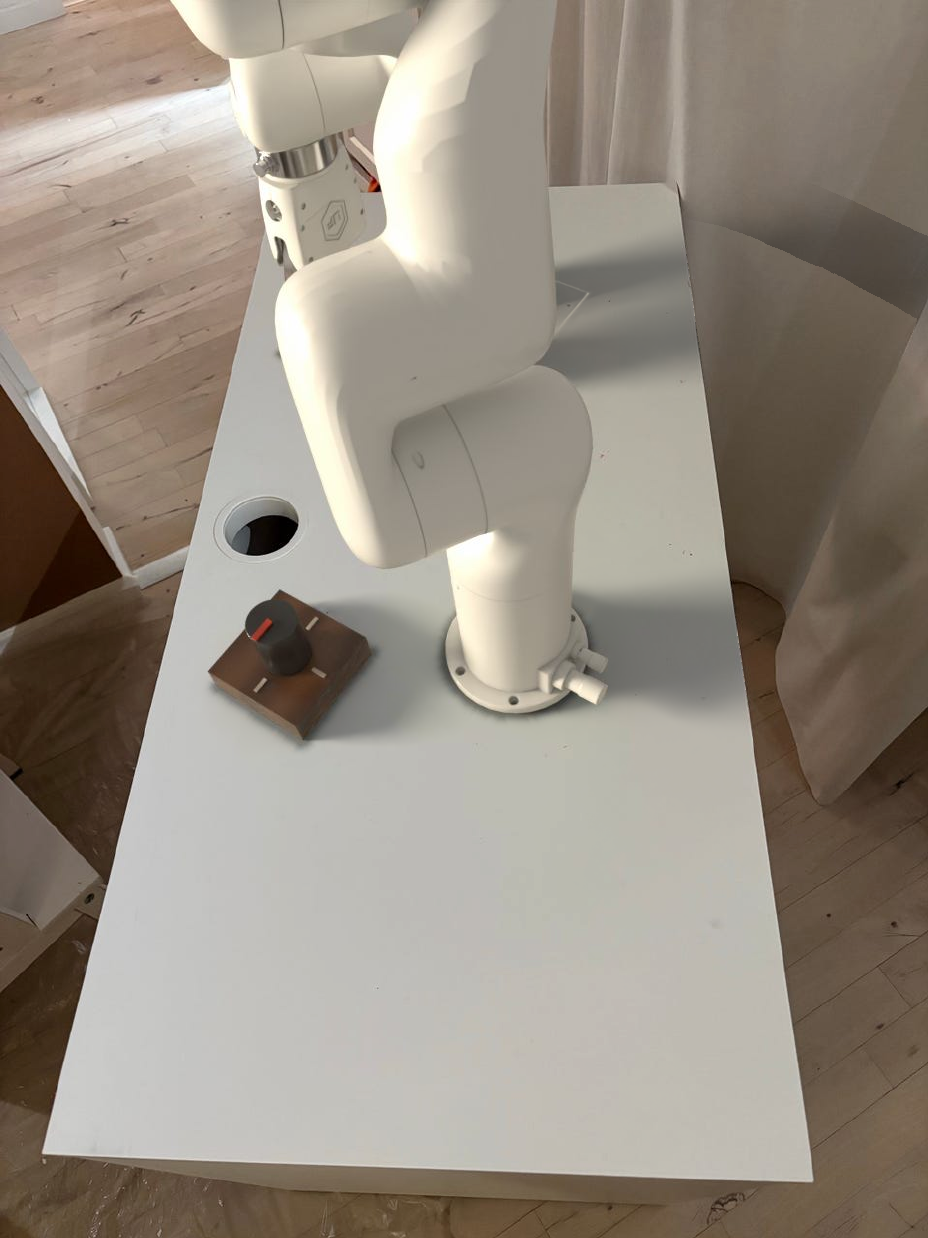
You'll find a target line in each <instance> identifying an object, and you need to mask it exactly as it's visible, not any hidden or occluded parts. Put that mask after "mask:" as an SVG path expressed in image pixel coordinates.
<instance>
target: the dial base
mask: <svg viewBox="0 0 928 1238" xmlns="http://www.w3.org/2000/svg"><path fill="white" fill-rule="evenodd" d="M271 599H280V600H284V601H286V602H288V603H290V604H291V605H292V606H293V607H294V608H295V610H296V612H297V614H298V617H299V619H300V621H301V623H302V626H303V628H304V630H305V633H306V635H307V637H308V640H309V642H310V644H311V648H312V654H311V658H310V660H309V662H308V663H307V665H306V666H305V667H304V668H303V669H302V670H300V671H299V672H297V673H295V674H292V675H288V676H279V675H275V674H272V673H271V672H269V671H268V670H267V669H266V668H265V666H264V665H263V663H262V661H261V659H260V657H259V655H258V653H257V652H256V650H255V648H254V646H253V644H252V642H251V640H250V639H249V637H248V635H247V633H246V630H245V628H244V629H243V630H242V631H241V633H240V634H239V635H238V636H237V637H236V638H235V639H234V640H233V641H232V643H231V644H230V645H229V646H228V647H227V649H226V650H225V651H224V652H223V653H222V654H221V655H220V656H219V658H217V660H216V661H215V662H214V663H213V664H212V666H210V668H209V669H207V673H208V675H209V676H210V678H211V679H212V681H213V682H214V684H215V685H216V687H217V688H218V689H220V690H221V691H223V692H225V693H226V694H228V695H230V696H231V697H232V698H234V699H236V700H237V701H239V702H240V703H242V704H243V705H245V706H247V707H249V708H250V709H252V710H254V711H255V712H257V713H258V714H260V715H262V716H263V717H264V718H266V719H268V720H269V721H271V722H273V723H274V724H276V725H278V726H279V727H281V728H283V729H284V730H286V731H287V732H288V733H290V734H292V735H293V736H295V737H297V738H298V739H300V741H304V740H305V739H306V738H307V737H308V735H309V734H311V732H312V731H313V729H314V728H315V727H316V725H317V724H318V723H319V721H321V720H322V718H323V717H324V715H325V714H326V713H327V711H328V710H329V709H330V708H331V707H332V705H333V704H334V703H335V701H336V700H337V699H338V697H339V696H340V695H341V694H342V693H343V692H344V690H345V689H346V688H347V686H348V685H349V684H350V682H351V681H352V680H353V679H354V678H355V676H356V675H357V674H358V673H359V671H360V670H361V669H362V667H363V666H364V665H365V664H366V662H367V661H368V660H369V659H370V657H371V656H372V650H371V648H370V644H369V642H368V639H367V636H364V635H362V634H361V633H359V632H357V631H356V630H354V629H352V628H350V627H348V626H347V625H345V624H343V623H341V622H340V621H337V620H336V619H334V618H332V617H330V616H329V615H327V614H325V613H323V612H321V611H319V610H318V609H316V608H315V607H313V606H311V605H310V604H307V603H305V602H304V601H302V600H300V599H298V598H297V597H295V596H293V595H291V594H290V593H288V592H286V591H284V590H282V589H278V590H277V591H276V592H275V594H274V595H273V596H272V597H271V598H270V599H269V600H271Z"/></svg>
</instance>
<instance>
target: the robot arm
mask: <svg viewBox="0 0 928 1238" xmlns="http://www.w3.org/2000/svg"><path fill="white" fill-rule="evenodd" d="M169 1H170V2H171V4H172V5H173V6H174V7H175V9H176V10H177V12H178V14H179V15H180V17H181V18H182V19H183V21H184V22H185V24H186V25H187V26H188V28H189V30H190V31H191V32H192V33H193V35H194V36H195V37H196V39H198V41H199V42H200V43H201V44H202V45H204V46H205V47H206V48H207V49H208V50H210V51H211V52H212V53H214V54H216V55H218V56H220V57H223V58H227V59H228V63H229V69H230V70H229V71H230V79H231V80H230V81H229V82H228V89H229V90H228V94H229V97H230V104H231V108H232V113H233V115H234V118H235V120H236V122H237V124H238V127H239V131H240V132H241V133H242V135H243V137H244V138H245V139H246V140H247V139H248V140H249V142H250V143H251V144H252V145H253V147H254V148H253V149H254V151H255V154H256V158H257V159H256V162H254V163H253V165H252V168H253V171H254V173H255V174H256V175H257V176H258V188H259V197H260V204H261V211H262V215H263V221H264V226H265V231H266V235H267V238H268V242H269V246H270V250H271V253H272V255H273V258H274V260H275V262H276V264H277V266H279V267H283V275H284V283H283V285H282V286H281V288H280V290H279V291H278V296H277V298H276V302H275V308H274V309H275V310H274V312H275V313H274V325H275V335H276V341H277V346H278V351H279V354H280V358H281V361H282V365H283V369H284V372H285V376H286V379H287V383H288V386H289V389H290V392H291V394H292V395H291V396H292V397H293V401H294V405H295V407H296V409H297V412H298V415H299V419H300V422H301V424H302V427H303V431H304V433H305V437H306V440H307V443H308V446H309V450H310V451H311V454H312V455H311V456H312V458H313V460H314V463H315V467H316V470H317V473H318V476H319V479H320V482H321V484H322V485H321V486H322V488H323V491H324V494H325V498H326V500H327V502H328V505H329V508H330V511H331V513H332V516H333V519H334V522H335V524H336V526H337V528H338V530H339V533H340V535H341V537H342V539H343V540H344V542H345V543H346V545H347V547H348V548H349V549H350V550H351V553H353V555H354V556H355V557H356V558H358V559H359V560H360V561H361V562H362V563H364V564H366V565H368V566H369V567H372V568H374V569H380V570H390V569H397V568H401V567H404V566H407V565H410V564H413V563H416V562H418V561H421V560H423V559H426V558H429V557H432V556H434V555H437V554H439V553H441V552H443V551H446V557H447V563H448V564H447V565H448V570H449V575H450V582H451V589H452V594H453V600H454V607H455V612H456V615H455V617H454V618H453V619H452V621H451V623H450V625H449V628H448V631H447V634H446V639H445V643H444V644H445V645H444V646H445V648H444V649H445V659H446V665H447V668H448V671H449V673H450V677H451V678H452V680H453V682H454V683H455V685H456V686H457V688H458V689H459V690H460V691H461V692H462V693H463V694H464V695H465V696H466V697H468V698H469V700H472V701H473V702H474V703H476V704H477V705H480V706H482V707H484V708H486V709H488V710H491V711H496V712H500V713H503V714H527V713H533V712H536V711H540V710H544V709H546V708H548V707H551V706H552V705H555V704H556V703H558V702H559V701H561V700H562V699H563V698H565V697H566V696H568V695H569V693H570V692H571V691H572V692H573V693H575V694H577V695H578V697H581V698H582V699H584V700H586V701H588V702H590V703H592V704H594V705H596V706H599V705H600V703H601V702H602V701H603V699H604V698H605V696H606V693H607V691H608V688H609V685H608V684H607V683H605V682H603V681H601V680H599V679H597V678H596V677H594V676H592V675H590V674H589V675H588V674H586V673H584V672H585V669H586V666H587V667H588V668H590V669H591V670H593V671H596V672H597V673H600V674H602V673H603V672H604V671H605V669H606V667H607V665H608V663H609V658H608V657H606V656H604V655H602V654H600V653H598V652H597V651H592V650H591V649H589V638H588V635H587V629H586V627H585V625H584V623H583V621H582V619H581V617H580V615H579V614H578V613H577V612H576V610H575V609H574V608H573V606H572V604H573V573H574V572H573V570H574V552H575V551H574V549H575V548H574V547H575V530H576V529H575V526H576V518H577V512H578V508H579V505H580V502H581V499H582V496H583V494H584V492H585V488H586V485H587V483H588V479H589V475H590V471H591V467H592V460H593V449H594V437H593V428H592V422H591V417H590V414H589V411H588V408H587V405H586V403H585V401H584V398H583V397H582V395H581V394H580V392H579V391H578V389H577V388H576V386H575V385H574V384H573V383H572V382H571V381H570V380H569V378H567V377H566V376H565V375H564V374H562V373H561V372H560V371H557V370H555V369H553V368H551V367H548V366H544V365H541V364H540V365H539V364H536V363H538V362H539V361H540V360H541V359H542V358H543V357H544V356H545V355H546V354H547V352H548V351H549V348H550V347H551V345H552V342H553V340H554V339H553V338H554V336H555V332H556V323H557V283H556V269H555V255H554V254H555V253H554V241H553V227H552V216H551V214H552V213H551V205H550V204H551V203H550V202H551V201H550V190H549V178H548V166H547V155H546V147H545V114H544V113H545V104H546V95H547V94H546V93H547V81H548V74H549V67H550V59H551V54H552V53H551V52H552V46H553V39H554V32H555V25H556V17H557V7H558V0H169ZM416 8H418V9H419V10H420V17H419V19H418V21H417V22H416V24H414V19H413V18H414V17H413V15H412V12H411V10H412V9H416ZM373 122H375V125H374V133H373V144H372V145H373V146H372V147H373V148H372V150H373V159H374V164H375V166H376V172H377V175H378V181H379V186H380V190H381V193H382V199H383V202H384V206H385V207H384V208H385V213H386V225H385V227H384V229H383V231H382V232H381V233H380V235H377V237H375V238H373V239H370V240H368V241H365V242H362V243H360V244H356V245H355V246H354V245H353V244H354V243H355V242H356V241H357V240H358V239H359V238H360V237H361V236H362V234H363V233H364V232H365V230H366V227H367V215H366V209H365V204H364V200H363V195H362V191H361V188H360V185H359V180H358V177H357V174H356V171H355V168H354V165H353V163H352V159H351V158H350V154H349V153H348V151H347V148H346V146H345V145H344V142H343V140H342V139H341V138H340V137H339V136H337V135H336V134H338V133H341V132H344V131H347V130H351V129H354V128H356V127H360V126H363V125H366V124H370V123H373ZM352 245H353V246H352Z"/></svg>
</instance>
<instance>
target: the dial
mask: <svg viewBox="0 0 928 1238" xmlns="http://www.w3.org/2000/svg"><path fill="white" fill-rule="evenodd" d="M270 599H271V598H270ZM270 599H266V600H263V601H261V602H259V603H258V604H256V605H255V606H253V608H251V610H250V611H249V612H248V614H247V615H246V618H245V621H244V629H245V630H246V633H247V635H248V637H249V639H250V640H251V642H252V644H253V646H254V648H255V650H256V652H257V653H258V655H259V657H260V659H261V661H262V663H263V665H264V666H265V668H266V669H267V670H268V671H269V672H271V673H272V674H275V675H279V676H288V675H292V674H295V673H297V672H299V671H300V670H302V669H303V668H304V667H305V666H306V665H307V663H308V662H309V660H310V658H311V654H312V648H311V644H310V642H309V640H308V637H307V635H306V633H305V630H304V628H303V626H302V623H301V621H300V619H299V617H298V614H297V612H296V610H295V608H294V607H293V606H292V605H291V604H290V603H288V602H286V601H284V600H280V599H271V600H270Z"/></svg>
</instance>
